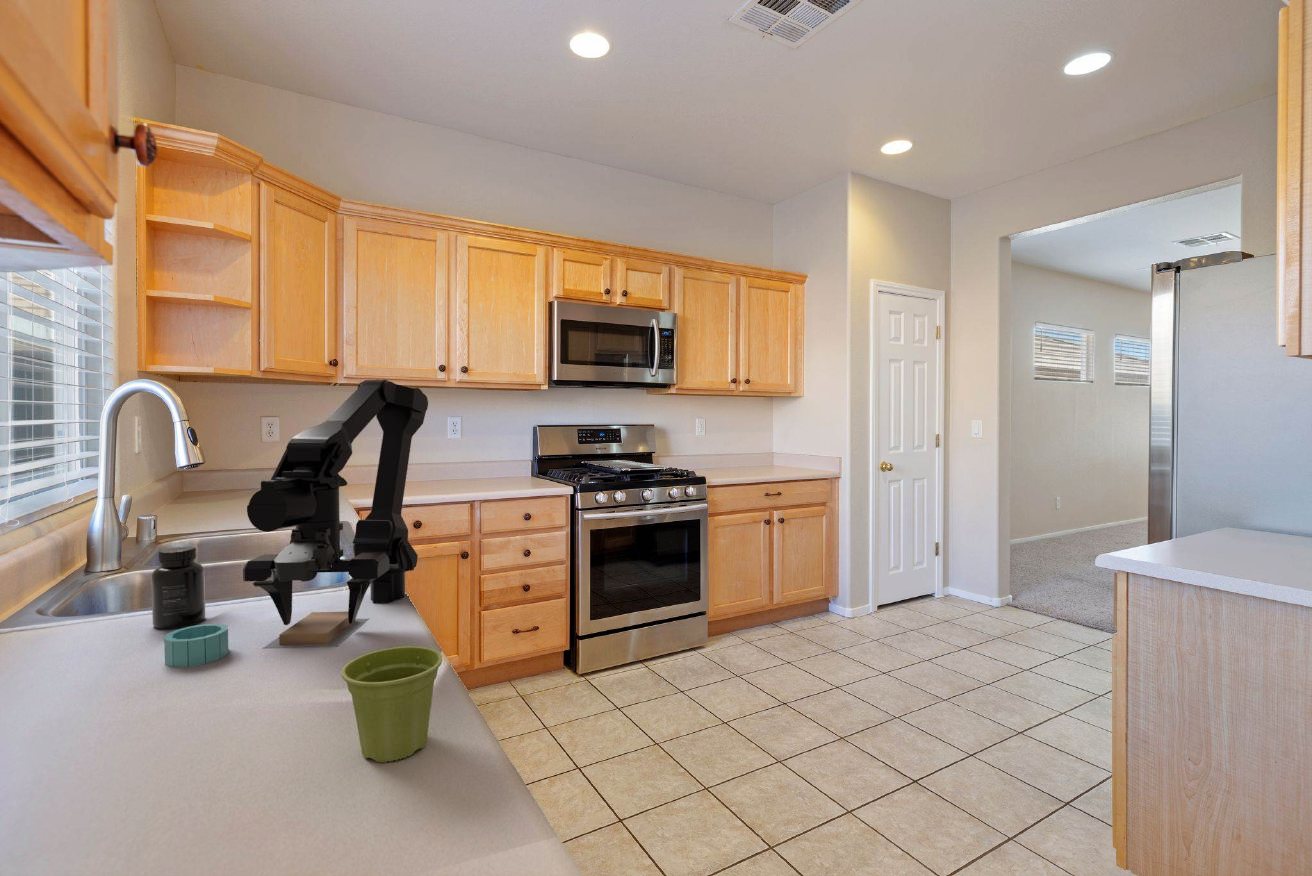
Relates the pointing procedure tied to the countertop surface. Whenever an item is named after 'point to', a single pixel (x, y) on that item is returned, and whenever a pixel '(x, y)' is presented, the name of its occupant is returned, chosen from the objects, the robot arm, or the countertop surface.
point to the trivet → (334, 642)
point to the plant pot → (392, 699)
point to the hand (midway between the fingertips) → (319, 623)
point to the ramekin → (196, 645)
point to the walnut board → (315, 629)
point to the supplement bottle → (178, 589)
